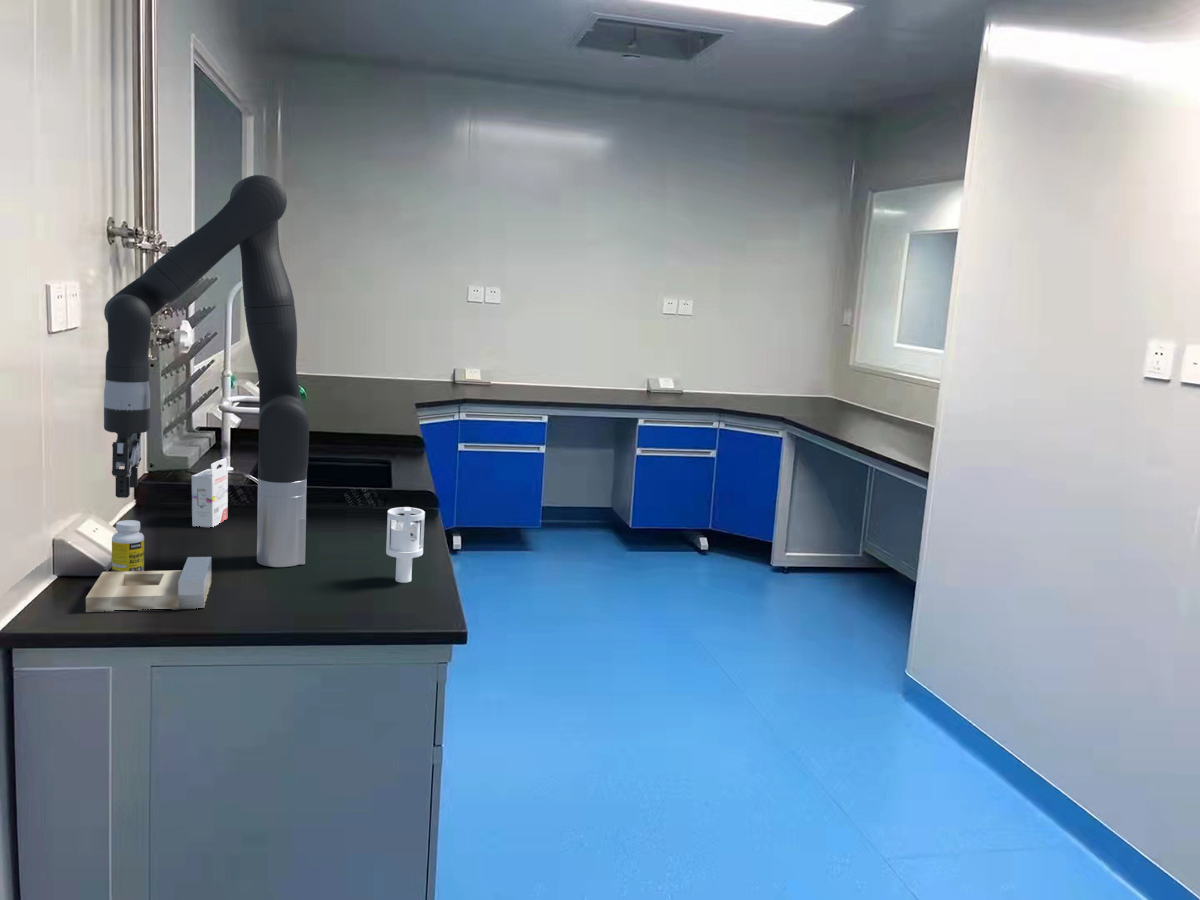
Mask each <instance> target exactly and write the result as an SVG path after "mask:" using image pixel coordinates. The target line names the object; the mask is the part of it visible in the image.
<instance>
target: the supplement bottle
mask: <svg viewBox="0 0 1200 900" xmlns="http://www.w3.org/2000/svg"><path fill="white" fill-rule="evenodd" d="M115 524H116V525H115V529H116V533H114V534H113V535H112V536H111V572H121V571H145V535H144V534H143V533H142V532H140V531H141V522H140V521H139V520H135V519H134V520H133V519H125V520H119V521H117V522H116V523H115Z"/></svg>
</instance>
